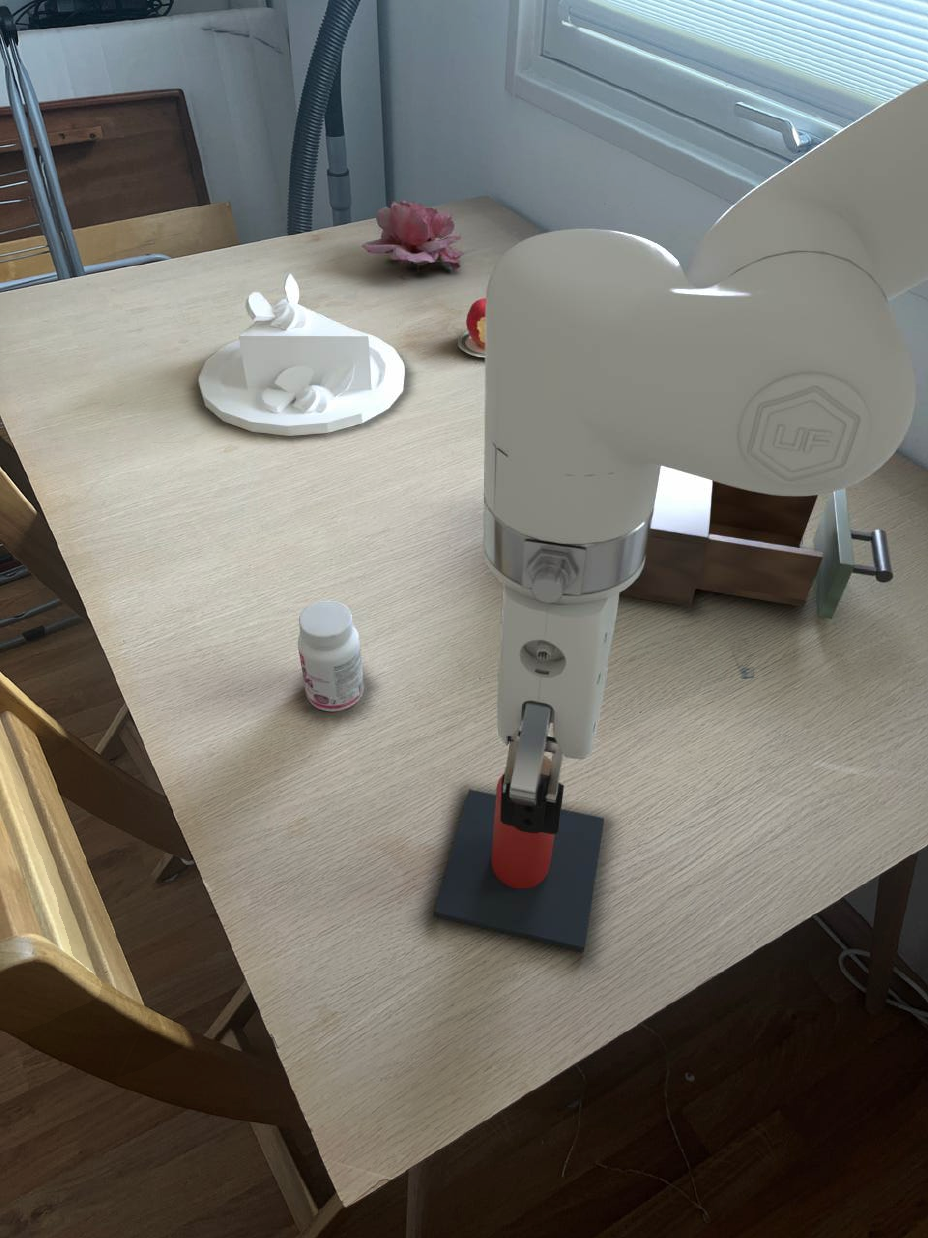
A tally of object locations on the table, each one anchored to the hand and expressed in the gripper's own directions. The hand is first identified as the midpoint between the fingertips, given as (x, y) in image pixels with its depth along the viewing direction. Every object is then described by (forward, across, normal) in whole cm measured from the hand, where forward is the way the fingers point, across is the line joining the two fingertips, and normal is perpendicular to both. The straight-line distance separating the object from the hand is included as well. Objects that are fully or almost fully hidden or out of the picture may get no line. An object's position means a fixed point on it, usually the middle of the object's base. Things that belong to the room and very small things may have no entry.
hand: (545, 756), depth 52 cm
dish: (+12, +59, +40) cm, 72 cm away
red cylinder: (+12, 0, +1) cm, 12 cm away
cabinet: (+13, +36, -1) cm, 38 cm away
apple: (+13, +74, +20) cm, 78 cm away
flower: (+12, +95, +36) cm, 102 cm away
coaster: (+13, 0, +1) cm, 13 cm away
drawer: (+12, +36, -16) cm, 41 cm away
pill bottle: (+12, +12, +19) cm, 26 cm away
